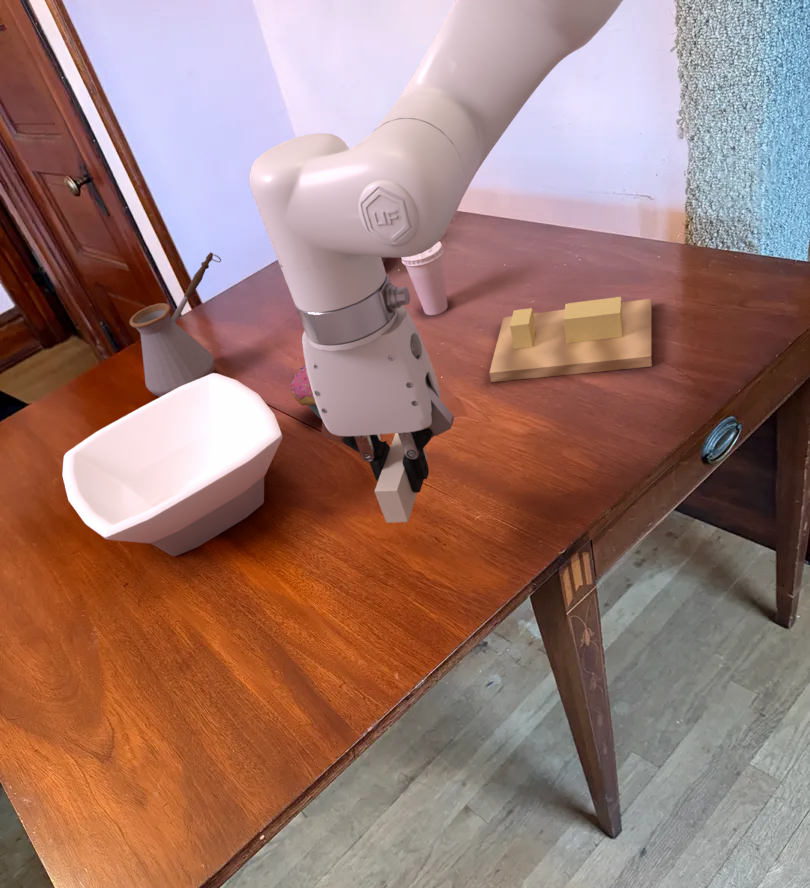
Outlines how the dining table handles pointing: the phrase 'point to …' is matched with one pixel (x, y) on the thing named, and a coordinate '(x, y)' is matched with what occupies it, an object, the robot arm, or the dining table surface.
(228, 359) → the dining table surface
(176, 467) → the bowl
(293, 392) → the cupcake
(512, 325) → the butter slice
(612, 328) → the butter
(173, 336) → the coffee pot
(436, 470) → the dining table surface
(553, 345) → the board
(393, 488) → the knife
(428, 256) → the smoothie
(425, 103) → the robot arm
